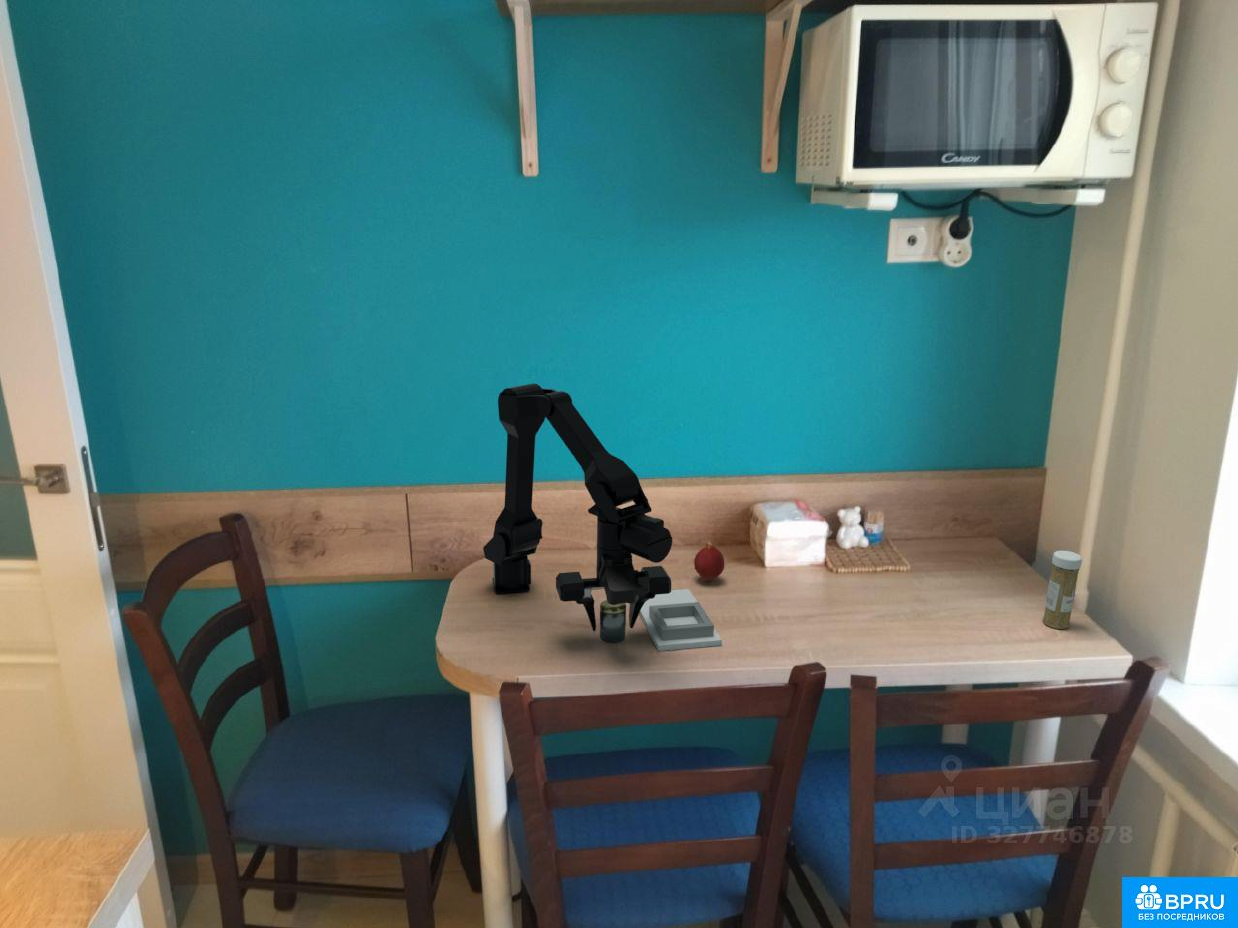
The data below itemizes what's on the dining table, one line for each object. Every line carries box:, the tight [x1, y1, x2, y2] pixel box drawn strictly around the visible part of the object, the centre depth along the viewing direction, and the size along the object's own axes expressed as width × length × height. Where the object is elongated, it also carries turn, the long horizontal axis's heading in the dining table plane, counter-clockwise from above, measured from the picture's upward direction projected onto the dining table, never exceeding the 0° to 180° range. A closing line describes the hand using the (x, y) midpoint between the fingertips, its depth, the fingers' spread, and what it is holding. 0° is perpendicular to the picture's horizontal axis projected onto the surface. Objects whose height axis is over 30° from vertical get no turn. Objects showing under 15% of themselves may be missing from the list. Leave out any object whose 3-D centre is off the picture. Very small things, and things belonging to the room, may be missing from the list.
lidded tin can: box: [599, 599, 627, 645], centre depth 156 cm, size 4×4×6 cm
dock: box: [639, 588, 723, 652], centre depth 163 cm, size 11×20×3 cm, turn 12°
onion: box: [693, 542, 725, 582], centre depth 178 cm, size 6×6×8 cm
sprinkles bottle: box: [1042, 550, 1083, 630], centre depth 163 cm, size 5×5×13 cm
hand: (612, 628), depth 157 cm, fingers open, 6 cm apart
